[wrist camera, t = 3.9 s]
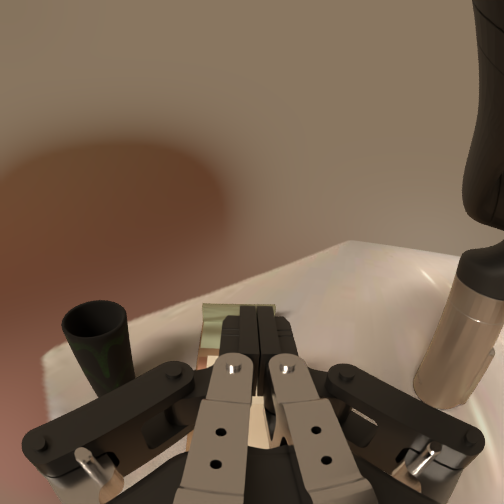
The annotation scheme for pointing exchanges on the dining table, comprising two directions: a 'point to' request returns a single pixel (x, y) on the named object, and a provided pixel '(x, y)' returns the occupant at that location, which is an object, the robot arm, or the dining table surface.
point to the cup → (100, 344)
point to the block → (253, 418)
